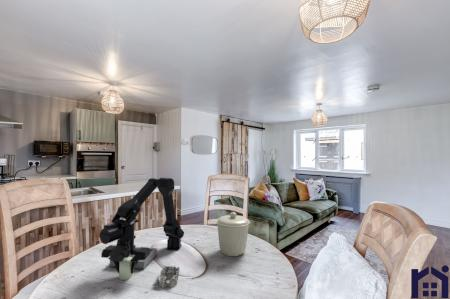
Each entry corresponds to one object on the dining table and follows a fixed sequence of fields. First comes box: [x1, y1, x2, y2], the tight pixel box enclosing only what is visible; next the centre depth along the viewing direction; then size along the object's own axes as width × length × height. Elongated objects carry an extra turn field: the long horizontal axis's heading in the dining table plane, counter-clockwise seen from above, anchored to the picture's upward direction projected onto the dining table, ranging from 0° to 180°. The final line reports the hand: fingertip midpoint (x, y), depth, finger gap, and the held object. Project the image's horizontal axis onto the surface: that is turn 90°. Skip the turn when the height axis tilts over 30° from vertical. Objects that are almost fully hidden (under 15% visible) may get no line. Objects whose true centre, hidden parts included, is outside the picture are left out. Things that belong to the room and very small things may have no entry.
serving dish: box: [109, 246, 158, 271], centre depth 104 cm, size 16×14×4 cm
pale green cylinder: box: [118, 257, 133, 281], centre depth 91 cm, size 5×5×7 cm
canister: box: [215, 211, 251, 257], centre depth 116 cm, size 18×18×21 cm
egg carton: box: [157, 265, 180, 289], centre depth 89 cm, size 11×8×4 cm
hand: (125, 272), depth 91 cm, fingers open, 5 cm apart
